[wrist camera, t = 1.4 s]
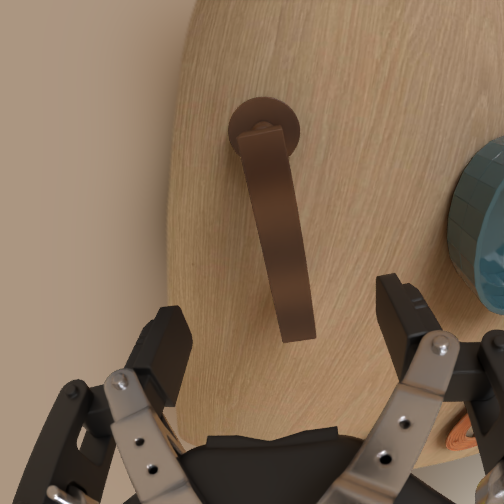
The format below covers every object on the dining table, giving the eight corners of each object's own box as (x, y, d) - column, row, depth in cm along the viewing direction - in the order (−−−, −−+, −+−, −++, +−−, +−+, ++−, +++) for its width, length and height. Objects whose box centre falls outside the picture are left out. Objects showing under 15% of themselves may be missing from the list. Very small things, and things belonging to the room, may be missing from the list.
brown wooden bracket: (227, 104, 23) (202, 106, 15) (290, 92, 22) (299, 86, 14) (267, 278, 30) (264, 345, 22) (320, 270, 29) (334, 335, 21)
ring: (560, 346, 33) (566, 354, 31) (515, 419, 45) (519, 426, 42) (465, 387, 37) (470, 398, 35) (429, 453, 48) (431, 462, 46)
